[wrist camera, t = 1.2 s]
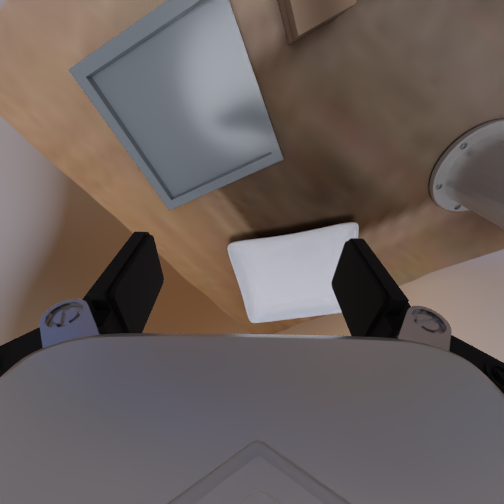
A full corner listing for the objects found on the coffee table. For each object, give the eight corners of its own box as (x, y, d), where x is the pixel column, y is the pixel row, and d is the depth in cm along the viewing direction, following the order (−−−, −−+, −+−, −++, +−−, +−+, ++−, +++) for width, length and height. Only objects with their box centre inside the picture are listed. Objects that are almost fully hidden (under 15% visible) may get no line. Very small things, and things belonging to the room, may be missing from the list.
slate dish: (219, -27, 22) (217, -35, 20) (281, 155, 32) (283, 159, 30) (78, 70, 26) (68, 69, 25) (172, 205, 36) (169, 210, 34)
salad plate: (226, 234, 40) (224, 245, 37) (352, 211, 37) (361, 222, 35) (250, 312, 52) (250, 325, 49) (346, 299, 50) (352, 311, 47)
